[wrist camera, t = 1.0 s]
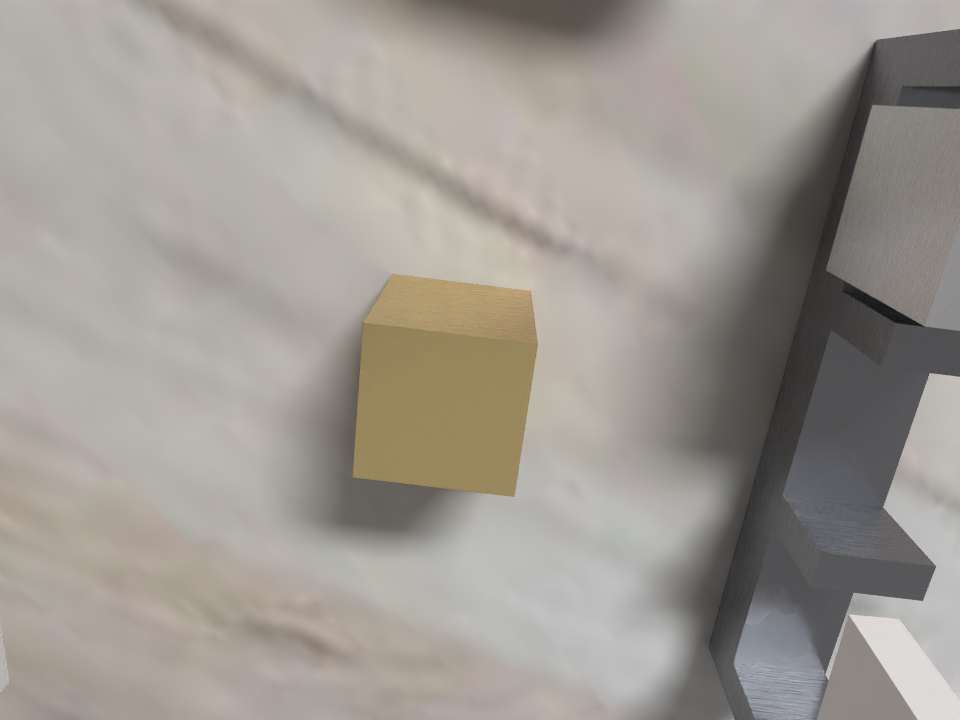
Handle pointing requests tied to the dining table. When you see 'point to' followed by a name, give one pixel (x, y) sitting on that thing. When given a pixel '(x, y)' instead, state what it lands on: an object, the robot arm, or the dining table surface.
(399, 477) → the unfinished wooden cube
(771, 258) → the dining table surface
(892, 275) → the plain grey cube
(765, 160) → the dining table surface
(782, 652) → the rack rail
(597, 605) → the dining table surface
